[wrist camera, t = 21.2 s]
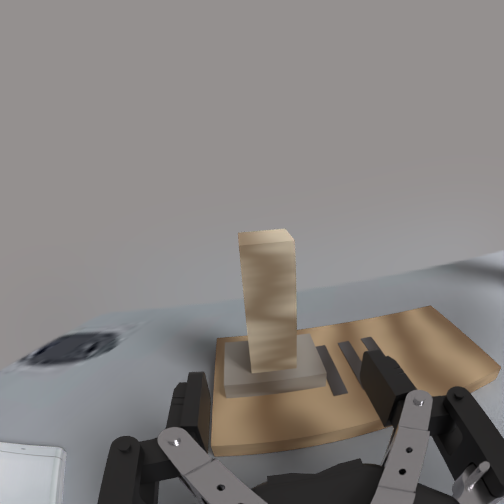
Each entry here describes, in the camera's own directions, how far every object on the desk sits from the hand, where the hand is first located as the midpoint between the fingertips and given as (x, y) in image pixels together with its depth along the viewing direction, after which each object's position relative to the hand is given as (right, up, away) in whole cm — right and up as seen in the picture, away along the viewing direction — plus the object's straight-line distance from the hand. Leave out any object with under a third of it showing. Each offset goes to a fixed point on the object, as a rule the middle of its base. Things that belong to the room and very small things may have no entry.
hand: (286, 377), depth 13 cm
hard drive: (-18, -13, -5) cm, 23 cm away
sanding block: (0, -4, +11) cm, 11 cm away
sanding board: (+8, -5, +11) cm, 14 cm away
